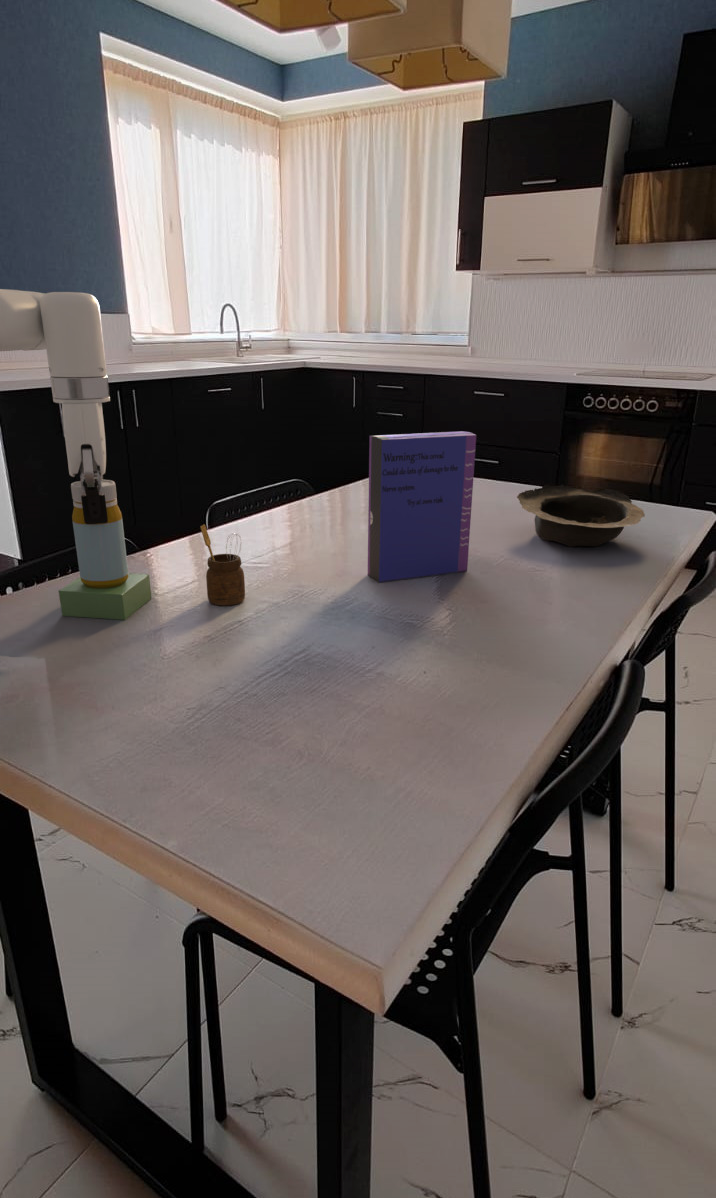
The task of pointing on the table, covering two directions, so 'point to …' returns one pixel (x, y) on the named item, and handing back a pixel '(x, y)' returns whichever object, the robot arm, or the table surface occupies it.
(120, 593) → the green block
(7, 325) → the robot arm
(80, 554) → the bottle
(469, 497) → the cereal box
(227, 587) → the utensil holder
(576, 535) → the stone bowl
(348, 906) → the table surface
